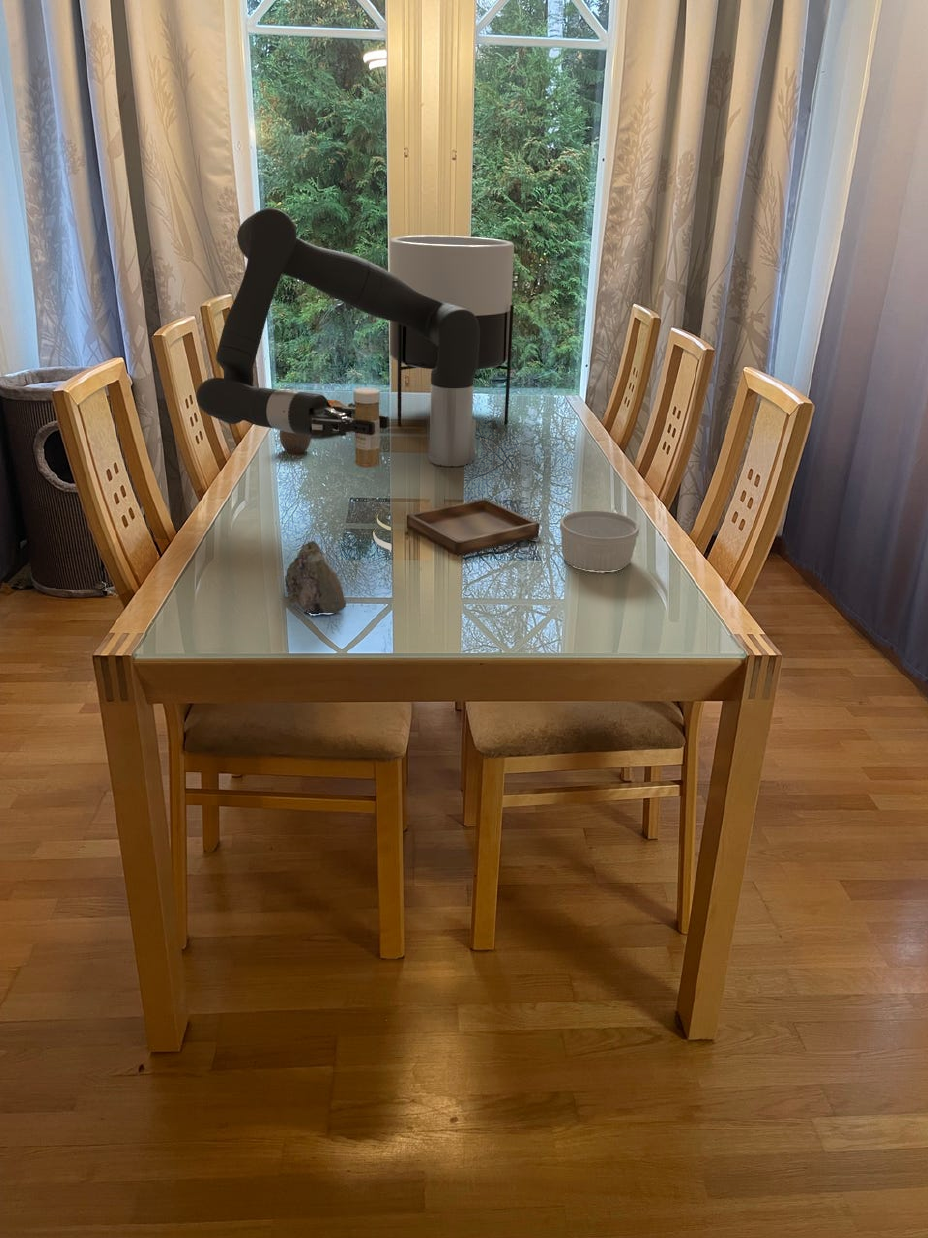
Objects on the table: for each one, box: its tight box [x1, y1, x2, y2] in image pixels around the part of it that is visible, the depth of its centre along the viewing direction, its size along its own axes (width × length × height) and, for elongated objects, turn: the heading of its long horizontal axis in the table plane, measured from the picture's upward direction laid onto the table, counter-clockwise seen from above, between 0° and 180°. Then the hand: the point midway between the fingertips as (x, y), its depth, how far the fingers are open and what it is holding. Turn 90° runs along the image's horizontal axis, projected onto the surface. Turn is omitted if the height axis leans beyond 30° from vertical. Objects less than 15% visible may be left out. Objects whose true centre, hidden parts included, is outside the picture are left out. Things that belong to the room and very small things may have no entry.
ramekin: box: [559, 509, 640, 571], centre depth 156 cm, size 13×13×7 cm
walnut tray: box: [406, 498, 540, 557], centre depth 167 cm, size 18×16×2 cm
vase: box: [279, 430, 312, 455], centre depth 208 cm, size 7×7×9 cm
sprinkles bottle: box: [352, 386, 381, 469], centre depth 162 cm, size 5×5×13 cm
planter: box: [389, 235, 515, 427], centre depth 232 cm, size 31×31×43 cm
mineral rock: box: [284, 540, 347, 614], centre depth 138 cm, size 13×11×10 cm
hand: (380, 425), depth 161 cm, fingers closed on sprinkles bottle, 4 cm apart
